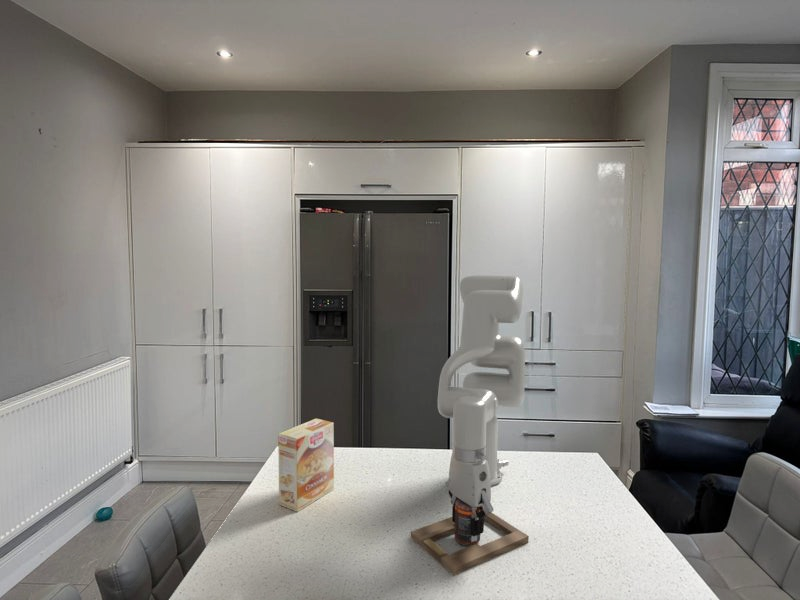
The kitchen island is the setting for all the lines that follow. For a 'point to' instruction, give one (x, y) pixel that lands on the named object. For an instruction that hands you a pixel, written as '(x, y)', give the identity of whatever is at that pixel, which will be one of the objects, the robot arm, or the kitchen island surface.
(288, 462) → the coffeecake box
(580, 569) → the kitchen island surface
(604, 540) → the kitchen island surface
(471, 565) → the wooden frame
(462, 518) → the supplement bottle
